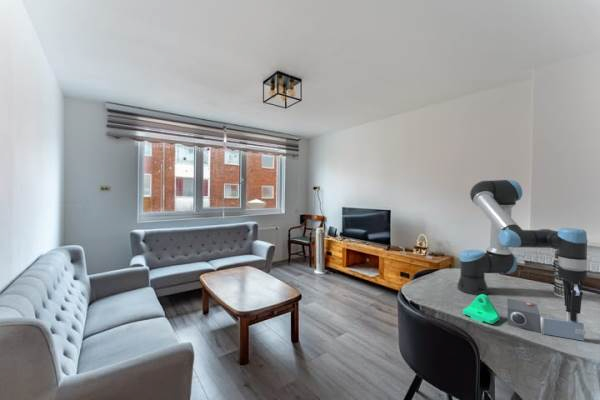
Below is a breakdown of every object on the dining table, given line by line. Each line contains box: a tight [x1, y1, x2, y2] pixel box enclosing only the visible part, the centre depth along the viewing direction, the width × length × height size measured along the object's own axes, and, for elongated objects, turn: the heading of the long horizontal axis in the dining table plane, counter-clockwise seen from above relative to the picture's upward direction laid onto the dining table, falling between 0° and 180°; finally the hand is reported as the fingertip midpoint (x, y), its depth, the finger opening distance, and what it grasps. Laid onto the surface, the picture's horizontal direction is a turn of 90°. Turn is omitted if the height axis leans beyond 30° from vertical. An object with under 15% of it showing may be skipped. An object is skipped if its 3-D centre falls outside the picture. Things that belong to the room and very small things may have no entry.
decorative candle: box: [552, 249, 565, 299], centre depth 135 cm, size 9×9×25 cm
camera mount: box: [462, 294, 501, 324], centre depth 113 cm, size 12×8×10 cm, turn 31°
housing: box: [507, 298, 541, 334], centre depth 108 cm, size 10×13×8 cm
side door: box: [540, 316, 586, 342], centre depth 97 cm, size 1×12×7 cm, turn 63°
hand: (572, 327), depth 96 cm, fingers closed
